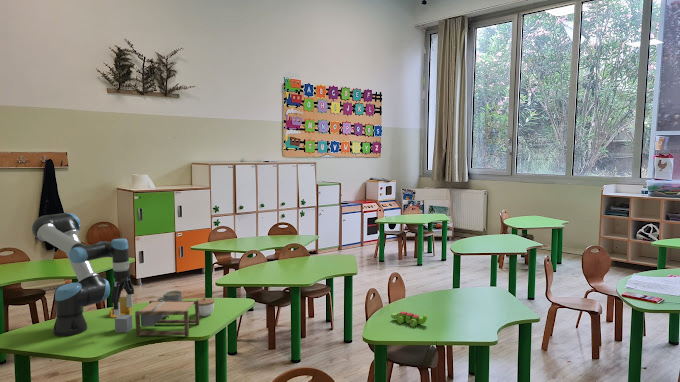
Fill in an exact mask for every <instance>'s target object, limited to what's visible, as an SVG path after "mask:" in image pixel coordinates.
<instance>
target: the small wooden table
mask: <svg viewBox="0 0 680 382" xmlns="http://www.w3.org/2000/svg"><path fill="white" fill-rule="evenodd" d="M162 301H163V300H162ZM193 305H195V304H194V302H164V301H163V302H151V303H150V304H147V305H146V306H145V307H144V308H142V309H141V310H140V311H189V309H190V308H191V307H192V306H193ZM164 318H165V317H164V315H140V327H154V326H155V325H156V323H157V322H159V321H160V320H163V319H164Z"/></svg>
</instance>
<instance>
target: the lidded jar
mask: <svg viewBox="0 0 680 382" xmlns="http://www.w3.org/2000/svg"><path fill="white" fill-rule="evenodd" d="M195 301H199V317H207V316H210V315H211V314H212V313H213V312H214V309H215V299H214V298H211V297H202V298H198V299H195Z"/></svg>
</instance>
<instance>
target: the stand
mask: <svg viewBox="0 0 680 382" xmlns="http://www.w3.org/2000/svg"><path fill="white" fill-rule="evenodd" d="M151 302H163V300H160V301H157V300H150V301H148V303H149V304H150V303H151ZM164 302H194V304H193V305H194V311H195V314H194V315H195V316H194V318H195V319H189V310H187V311H141V310H136V311H134V318H135V319H134V320H135V335H136V336H135V337H136V338H140V337H141V336H184V337H185V338H188V337H189V336H190V328H189V327H190V326H189V325H190V324H195V325H196V326H199V325H200V316H199V301H196V300H182V301H164ZM149 304H148V305H149ZM141 315H169V316H183V319H161V320H160V321H159V322H157V323H156V324H160V325H161V324H169V325H170V324H178V325H179V324H184V330H183V331H182V330H169V331H168V330H166V331H165V330H157V331H156V330H155V331H153V330H152V331H151V330H145V331H143V330H141ZM156 324H155V325H156Z"/></svg>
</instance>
